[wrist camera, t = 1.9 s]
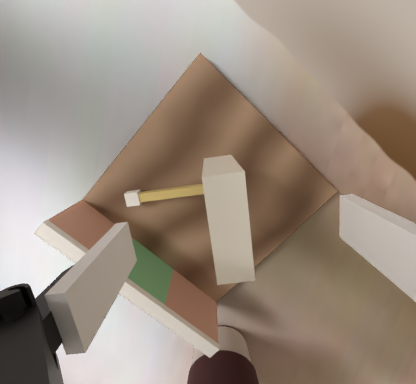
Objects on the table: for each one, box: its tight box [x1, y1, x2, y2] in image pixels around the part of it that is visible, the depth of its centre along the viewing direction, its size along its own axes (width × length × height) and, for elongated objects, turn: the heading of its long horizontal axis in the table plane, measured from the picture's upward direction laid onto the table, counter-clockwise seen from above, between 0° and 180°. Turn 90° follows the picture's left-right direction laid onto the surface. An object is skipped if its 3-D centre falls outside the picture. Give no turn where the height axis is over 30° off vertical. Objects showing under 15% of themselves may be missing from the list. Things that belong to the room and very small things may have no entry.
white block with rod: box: [124, 155, 255, 285], centre depth 20 cm, size 11×7×12 cm, turn 98°
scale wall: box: [34, 200, 219, 358], centre depth 25 cm, size 20×1×7 cm, turn 48°
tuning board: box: [83, 53, 337, 302], centre depth 27 cm, size 20×21×1 cm
